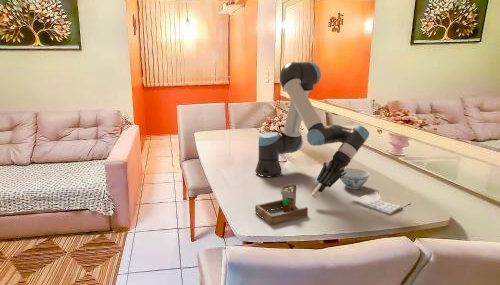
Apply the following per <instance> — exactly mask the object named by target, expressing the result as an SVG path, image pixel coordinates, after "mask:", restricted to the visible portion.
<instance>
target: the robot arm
mask: <svg viewBox="0 0 500 285" xmlns="http://www.w3.org/2000/svg"><path fill="white" fill-rule="evenodd" d="M279 73H280V74H279V82H280V85H281V88H282V89H283V91H284V92H286V93H287V94H288V97H289V99H290V103H289V107H288V110H287V115H286V119H285V123H284V126H283V127H282V128H281V129H280V131H279V132H280V133H279V132H276V131H271V132H264V133H261V134H259V136H258V142H257V143H258V144H257V145H258V159H257V160H258V161H257V163H256V167H255V172H256V173H257V174H260V175H263V176H277V175H280V174H281V173H282V172H283V171H282V167H281V164H280V155H284V154H293V153H296V152H298V151H300V150H301V148H302V146H303V142H304V141H303V136H302V132H301V131H300V127H301V124H302V122H303V124H304V126H305V128H306V130H307V134H306V138H307V139H306V140H307V142H308V144H309V145H311V146H323V145H327V144H328V145H329V144H337V143H341V144H340V146H339V147H338V148H337V150H336V151H335V153H334V154H333V155H332V159H331V160H330V161H329V162H325V161H324V162H323V164H322V167H321V170H320V172H319V174H318V175H317V177H316V181H317V183H316V185H315V186H314V189H313V190H312V192H311V194H310V195H311V196H312V197H313V198H314V199H317V198H318V197H319V196H320V194H321V193H323V192H324V190H325V189H326V188H327V187H328V188H331V187H332V186H333V185H334V184H336V182H337V181H339V179H340V177H341V176H343V175H345V174H346V172H345V171H344V169H345V168H347V167H348V166H349V163H351V160H352V159H353V158H354V157H355V156H356V154H357V153H358V151H359V150H360V149H361V148H362V146H363V145H364V144H365V143H366V142H367V140H368V138H369V136H370V132H369V130H368V129H367V128H366V127H364V126H363V125H360V124H358V125H355V126H354V127H353V128H349V127H345V126H342V125H340V124H331V125H330V126H329V127H325V125H324V124H323V122H322V120H321V119H320V117H319V115H318V113H317V111H316V109H315V107H314V106H313V105H312V103H311V100H310V98H309V94H310V93H311V91H313V90H314V86H316V85H317V84H319V82H320V81H321V77H322V73H321V70H320V67H319V66H318V64H317V63H315V62H310V61H303V62H302V61H298V62H295V61H291V62H288V63H286V64H285V65H284V66H283V67H282V68H281V70H280V72H279ZM255 172H254V173H255ZM282 174H283V173H282ZM282 174H281V175H282ZM281 175H280V176H281ZM277 177H278V176H277Z"/></svg>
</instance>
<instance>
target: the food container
mask: <svg viewBox="0 0 500 285" xmlns="http://www.w3.org/2000/svg"><path fill="white" fill-rule="evenodd" d="M280 194H281V196H282V197H281V200H282V201H283V208H282V211H283V213H285V212H289V211H293V210H296V203H297V202H296V200H297V184H296V183H289V184H285V185H283V186H282V187H281V190H280Z"/></svg>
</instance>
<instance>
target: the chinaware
mask: <svg viewBox="0 0 500 285" xmlns="http://www.w3.org/2000/svg"><path fill="white" fill-rule="evenodd" d="M344 171H345V172H346V174H345V175H343V176H341V177H340V178H339V179H340V181H341V182H342V183H343V185H345V187H346V188H347V189H351V190H357V189H360V188H361V186H363V185H364V184H366V183H367V181H368V179H369V177H370V172H368V171H366V170H364V169H361V168H354V167H351V168H350V167H345V168H344Z"/></svg>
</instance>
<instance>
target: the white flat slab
mask: <svg viewBox="0 0 500 285" xmlns="http://www.w3.org/2000/svg"><path fill="white" fill-rule="evenodd" d="M378 192H379V191H377V190H376V191H374V192H371V193H369V194H364V195H362V196H359V197H357V198H354V199H352V200H351V202H352V203H354V204H357V205H360V206H362V207H365V208H369V209H371V210H374V211H376V212H379V213H382V214H384V215H387V216H390V215H392V214H393V213H394V212H397V211H399V210H402V209H401V208H402V206H400V205H395V204H391V203H387V202H384V201H381V200H379V199H380V198H381V197H380V195H378ZM398 209H399V210H398ZM396 210H397V211H396Z"/></svg>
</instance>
